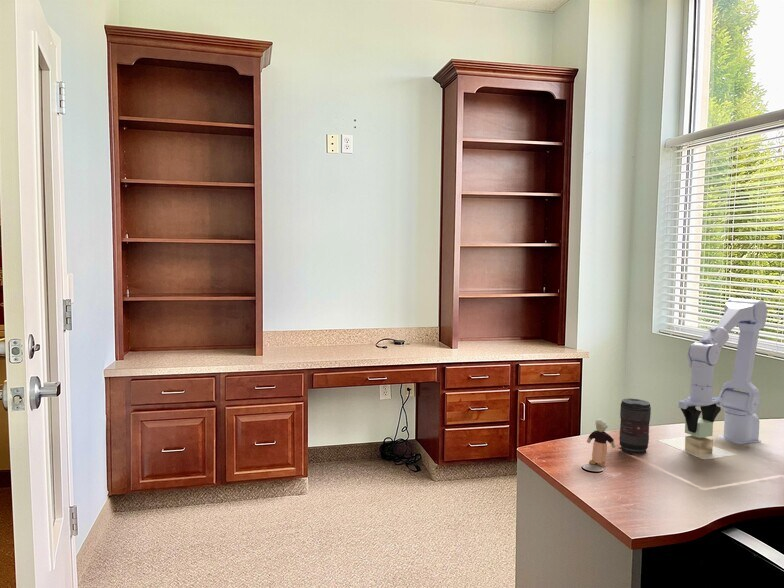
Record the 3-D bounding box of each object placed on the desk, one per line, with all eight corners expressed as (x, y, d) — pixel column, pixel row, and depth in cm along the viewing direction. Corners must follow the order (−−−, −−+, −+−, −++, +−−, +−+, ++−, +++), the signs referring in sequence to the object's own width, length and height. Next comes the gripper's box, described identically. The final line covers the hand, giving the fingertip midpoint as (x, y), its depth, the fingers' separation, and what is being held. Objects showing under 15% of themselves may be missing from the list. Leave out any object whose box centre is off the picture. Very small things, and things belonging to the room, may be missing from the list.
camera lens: (652, 457, 163) (654, 405, 162) (622, 455, 164) (624, 404, 163) (644, 447, 171) (646, 398, 170) (616, 446, 172) (617, 397, 171)
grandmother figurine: (584, 463, 157) (585, 418, 156) (586, 459, 161) (588, 415, 160) (614, 469, 154) (615, 422, 153) (615, 464, 157) (617, 419, 156)
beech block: (697, 447, 169) (698, 434, 169) (712, 453, 165) (713, 439, 164) (684, 449, 168) (685, 436, 168) (699, 455, 163) (699, 441, 163)
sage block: (697, 430, 169) (698, 417, 169) (712, 436, 165) (713, 422, 164) (684, 432, 168) (685, 419, 167) (699, 437, 163) (699, 423, 163)
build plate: (687, 438, 180) (687, 436, 180) (735, 456, 164) (735, 454, 164) (657, 442, 176) (657, 440, 176) (703, 461, 160) (703, 459, 160)
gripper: (709, 379, 171) (706, 424, 172) (671, 383, 166) (668, 429, 167) (730, 385, 164) (727, 431, 165) (690, 388, 160) (688, 436, 161)
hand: (699, 430), depth 166 cm, fingers closed on sage block, 5 cm apart
